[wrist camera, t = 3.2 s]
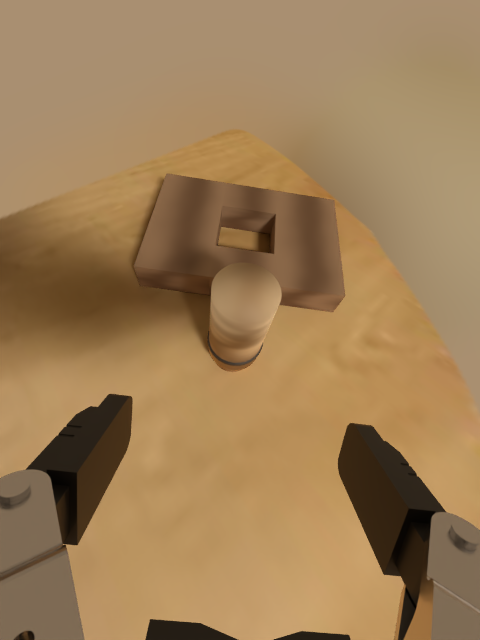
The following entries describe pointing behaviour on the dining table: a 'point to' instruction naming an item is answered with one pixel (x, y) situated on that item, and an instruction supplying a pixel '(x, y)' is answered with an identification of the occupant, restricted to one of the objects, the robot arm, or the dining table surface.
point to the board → (208, 258)
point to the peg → (241, 314)
